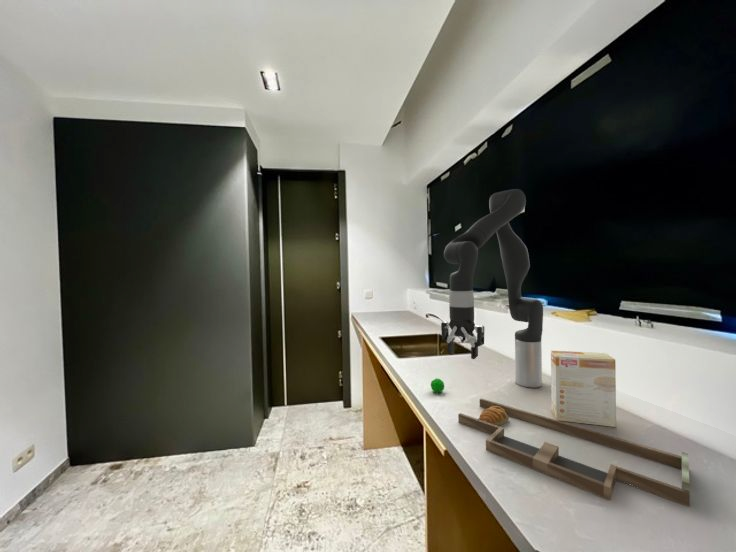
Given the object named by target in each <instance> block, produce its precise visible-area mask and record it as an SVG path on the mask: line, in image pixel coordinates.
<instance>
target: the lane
mask: <svg viewBox="0 0 736 552" xmlns="http://www.w3.org/2000/svg"><path fill="white" fill-rule="evenodd" d="M492 406H499V407H501V408H503V409H504V410H505V412H506V414H507V416H508V417H512V418H514V419H518V420H522V421H525V422H528V423H531V424H534V425H538V426H541V427H544V428H548V429H551V430H554V431H557V432H561V433H563V434H566V435H569V436H572V437H576V438H580V439H583V440H586V441H589V442H592V443H595V444H598V445H599V444H600V445H601V446H605V447H609V448H612V449H615V450H618V451H622V452H625V453H628V454H631V455H635V456H637V457H640V458H644V459H647V460H650V461H654V462H656V463H659V464H664V465H667V466H669V467H673V468H677V469H680V470H681V487H679V486H675V485H672V484H670V483H667V482H664V481H661V480H658V479H654V478H652V477H649V476H646V475H643V474H640V473H637V472H634V471H631V470H628V469H626V468H622V467H619V466H617V465H614V464H610V465H609V468H608V471H607V473H608V474H607V477H606V480H605V483H603V482H601V481H598V480H595V479H593V478H590V477H588V476H585V475H582V474H580V473H577V472H574V471H572V470H569V469H566V468H564V467H561V466H559V465H556V464H554V462H555V461H556V459H557V457H558V456H560V455H559V453H560V452H559V451H560V450H559V449H560V448H559V446H558V445H555V444H552V443H549V442H546V441H544V443H543V444H542V445H541V447H540V448H539V451H538V452H537V453H536V455H535V456H532V455H529V454H527V453H524V452H522V451H519V450H516V449H514V448H511V447H508V446H506V445H503V444H500V443H498V442H499V441H500V440H501V439H502V438H503V436H505V428H504V427H503V426H501V425H500V426H497V425H494V424H491V423H488V422H485V421H482V420H479V418H477V417H473V416H470V415H467V414H464V413H461V412H460V413H458V414H457V415H458V423H459V424H461V425H465V426H467V427H470V428H472V429H475V430H478V431H480V432H484V433H486V434H489V435H490V436H489V437H488V438H486V439H485V450H486V451H488V452H490V453H493V454H495V455H498V456H500V457H503V458H505V459H507V460H510V461H512V462H515V463H517V464H519V465H522V466H525V467H527V468H529V469H532V470H535V471H537V472H538V473H542V474H544V475H547V476H549V477H552V478H554V479H556V480H559V481H561V482H564V483H566V484H569V485H572V486H573V487H577V488H579V489H581V490H584V491H586V492H589V493H591V494H594V495H596V496H599V497H601V498H603V499H605V498H606V499H605V500H608V501H611V499H612V495H613V492H614V488H615V484H616V481H617V480H618V482H620V481H621V482H620V483H623V482H625V483H624V484H626V483H627V484H626V485H628V484H631V485H633V486H632V487H634V486H635V488H637V487H638V488H637V489H639V488H640V490H642V489H643V490H642V491H645V490H646V491H645V492H647V491H649V492H648V493H650V492H651V494H653V493H654V494H653V495H656V494H657V495H656V496H658V495H659V497H662V498H664V497H665V498H664V499H667V498H668V499H667V500H669V499H670V501H672V500H673V501H672V502H675V501H676V502H675V503H678V502H679V503H678V504H680V503H682V504H681V505H683V504H685V505H684V506H686V505H687V507H688V506H690V500H691V499H690V497H691V493H690V487H691V486H690V468H689V467H690V462H689V453H687V452H683V451H681V455H678V454H675V453H671V452H668V451H664V450H661V449H657V448H655V447H654V448H653V447H650V446H648V445H643V444H640V443H637V442H633V441H631V440H626V439H623V438H619V437H615V436H613V435H609V434H605V433H602V432H599V431H596V430H592V429H589V428H585V427H582V426H578V425H576V424H572V423H567V422H566V421H558V420H556V419H553V418H550V417H547V416H543V415H540V414H538V413H532V412H530V411H526V410H523V409H519V408H516V407H512V406H509V405H505V404H502V403H499V402H495V401H491V400H490V399H489V400H488V399H485V398H479V407H480V408H483V409H487V408H490V407H492ZM631 485H630V486H631Z"/></svg>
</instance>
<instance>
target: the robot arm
mask: <svg viewBox="0 0 736 552" xmlns="http://www.w3.org/2000/svg"><path fill="white" fill-rule="evenodd" d="M526 199H527V198H526V195H525V193H524V191H522V190H521V189H519V188H513V189H508V190H507V189H506V190H503V191H499V192H494V193H493V194H492V195H490V197H489V201H488V202H489V203H488V204H489V214H487V215H485V216H483V217H481V218H480V219H478V220H476V222H474V223H473V224H472V225H471V226H470V227H469V229H467V230H466V231H465V232H464V233H462V234H460V235H458V236H457V237H456V238H454V239H453V240H451V241H450V242H449V243H448V244H447V245H446V246H445V248H444V251H443V258H444V259H445V261H446V262H447V263H448V264H451V265H459V268H458V270H457V271H454V272H452V273H450V275H449V296H448V297H449V299H448V300H449V301H448V303H449V304H448V305H449V310H448V311H449V320H450V321H446V320H445V321H443V322H441V323H440V327H441V329H440V330H441V340H442V341H445V342H446V343H447V352H448V355H451V356H453V355H454V354H455V342H454V341H455V339H456V338H457V337H458V338H459V337H460V338H466V340H467V342H468V343H469V344H470V346H471V347H470V359H471V360H476V359H477V357H478V356H479V347H482V346H483V345H485V325H476V324H475V297H474V291H473V290H474V281H473V280H474V279H473V278H474V274H475V271H476V266H477V263H478V258H479V249H480V248H482V247H483V246H484V245H485V244H486V243H487V242H488V241H489V239H490V238H491V237H492V236H493V235H494V234H496V236H497V240H498V244H499V251H500V257H501V261H502V262H501V263H502V267H503V271H504V276H505V282H506V289H507V297H508V298H507V300H508V307H509V313H510V314H509V315H510V317H511V318H512V319H513V321H516V322H522V323H528V325H527V328H524V329H520V330H515V332H514V364H515V365H514V368H515V370H514V371H515V372H514V374H515V377H514V378H515V381H514V382H515V383H516V385H517V384H518V385H519V386H521V387H526V388H540V387H542V386H543V367H542V366H543V364H542V363H543V361H542V360H543V359H542V358H543V357H542V352H543V351H542V350H543V349H542V347H543V346H542V336H543V331H544V330H543V326H544V325H543V322H544V306H543V303H542V301H541V300H540V299H536V298H528V297H527V298H526V297H525V298H523V296H522V291H521V290H522V285H523V282H524V280H525V278H526V276H527V275H528V272H529V269H530V267H531V264H530V258H529V257H530V255H529V252H528V248H527V246H526V244H525V243H524V242H523V241H522V239H521V238H520V237H519V236H518V235H517V234H516V233H515V232H514V231H513V228H512V227H511V225H510V221H512V220H513V219H514V218H515V217H518V216H519V215H520V214H521V213H522V212H523V211H524V209H525V208H526V203H527V200H526ZM449 328H450V330H451V331H450V332H449ZM474 330H475V333H476V335H475V333H474Z"/></svg>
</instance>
